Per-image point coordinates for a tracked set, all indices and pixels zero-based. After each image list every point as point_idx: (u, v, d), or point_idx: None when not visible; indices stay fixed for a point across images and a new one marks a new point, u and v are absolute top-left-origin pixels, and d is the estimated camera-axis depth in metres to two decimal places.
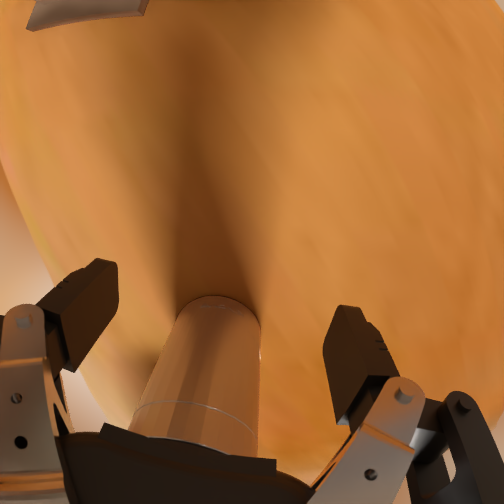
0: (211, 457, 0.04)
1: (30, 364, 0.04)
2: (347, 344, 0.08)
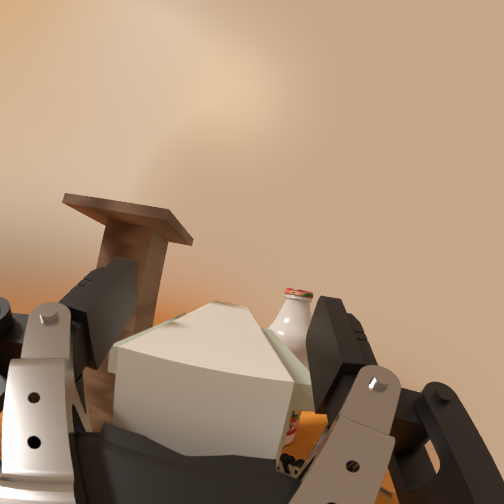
0: (211, 457, 0.04)
1: (51, 364, 0.04)
2: (326, 334, 0.09)
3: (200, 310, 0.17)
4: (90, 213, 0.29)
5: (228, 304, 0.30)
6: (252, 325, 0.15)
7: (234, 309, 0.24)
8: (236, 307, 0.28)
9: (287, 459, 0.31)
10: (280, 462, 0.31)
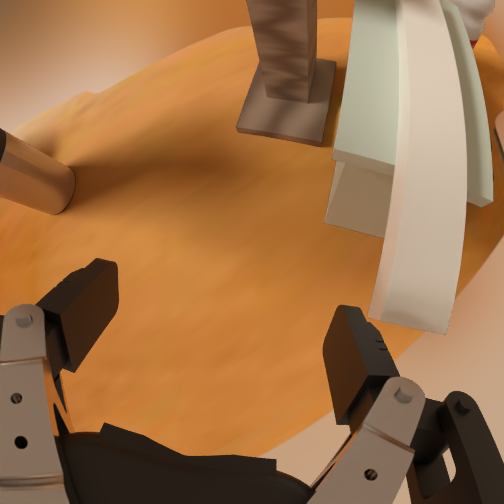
0: (211, 457, 0.04)
1: (30, 364, 0.04)
2: (347, 344, 0.08)
3: (413, 94, 0.13)
4: None
5: None
6: (461, 151, 0.12)
7: (435, 36, 0.13)
8: (432, 14, 0.13)
9: None
10: None
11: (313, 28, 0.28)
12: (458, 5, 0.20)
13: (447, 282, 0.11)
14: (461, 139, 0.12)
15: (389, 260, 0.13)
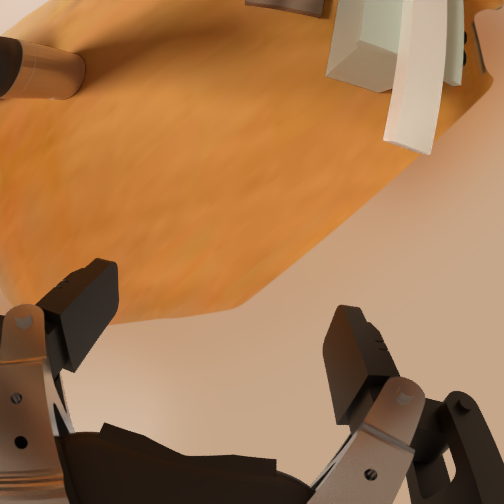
0: (211, 457, 0.04)
1: (30, 363, 0.04)
2: (347, 344, 0.08)
3: (415, 15, 0.15)
4: None
5: None
6: (442, 55, 0.17)
7: None
8: None
9: None
10: None
11: None
12: None
13: (430, 126, 0.19)
14: (443, 47, 0.16)
15: (396, 109, 0.20)
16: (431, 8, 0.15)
